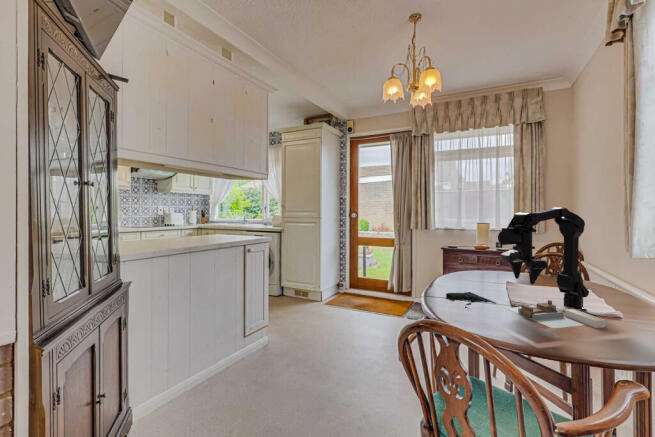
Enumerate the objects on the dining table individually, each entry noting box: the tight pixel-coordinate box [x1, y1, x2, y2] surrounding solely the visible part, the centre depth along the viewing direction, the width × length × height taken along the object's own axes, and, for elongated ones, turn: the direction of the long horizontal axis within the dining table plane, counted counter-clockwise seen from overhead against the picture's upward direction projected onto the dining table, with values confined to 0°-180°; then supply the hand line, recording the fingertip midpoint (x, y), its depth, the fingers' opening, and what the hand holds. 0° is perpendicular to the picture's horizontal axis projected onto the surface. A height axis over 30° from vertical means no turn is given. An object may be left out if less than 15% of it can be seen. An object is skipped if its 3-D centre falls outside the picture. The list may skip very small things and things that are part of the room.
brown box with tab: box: [520, 299, 557, 319], centre depth 119 cm, size 12×4×6 cm, turn 100°
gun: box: [445, 291, 497, 310], centre depth 139 cm, size 24×3×15 cm
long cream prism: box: [564, 308, 607, 329], centre depth 112 cm, size 4×12×4 cm, turn 7°
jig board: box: [505, 305, 585, 330], centre depth 118 cm, size 14×22×3 cm, turn 10°
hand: (524, 281), depth 122 cm, fingers open, 9 cm apart
